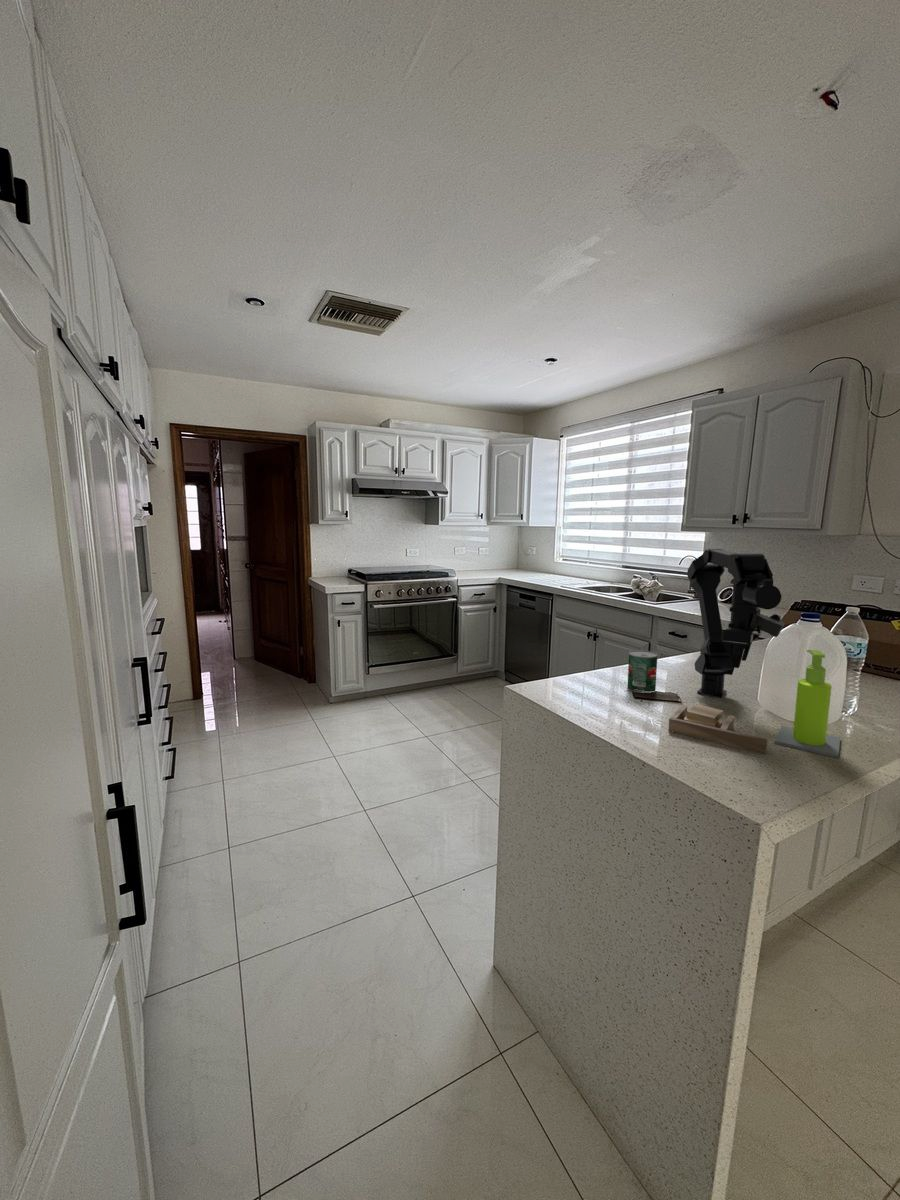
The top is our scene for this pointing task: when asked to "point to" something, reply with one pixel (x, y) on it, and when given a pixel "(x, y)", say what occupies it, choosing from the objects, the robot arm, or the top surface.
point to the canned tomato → (642, 670)
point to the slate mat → (827, 749)
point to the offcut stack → (705, 716)
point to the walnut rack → (716, 732)
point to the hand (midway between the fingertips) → (740, 664)
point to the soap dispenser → (812, 704)
